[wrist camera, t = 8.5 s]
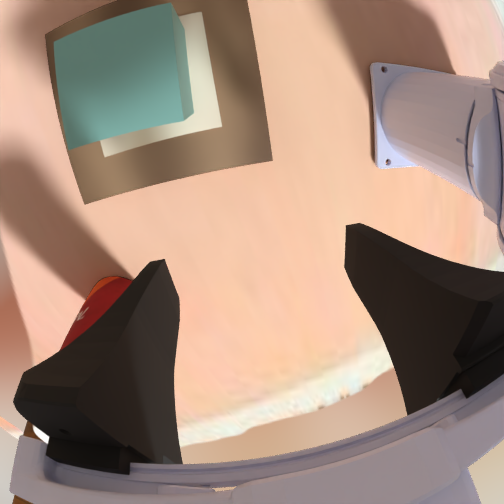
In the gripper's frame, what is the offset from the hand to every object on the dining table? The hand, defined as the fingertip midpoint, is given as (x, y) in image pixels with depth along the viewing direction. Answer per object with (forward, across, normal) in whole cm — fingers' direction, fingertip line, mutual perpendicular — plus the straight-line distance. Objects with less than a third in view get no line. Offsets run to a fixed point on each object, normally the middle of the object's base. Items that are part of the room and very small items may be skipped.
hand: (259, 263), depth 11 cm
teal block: (+7, +4, -8) cm, 11 cm away
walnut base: (+10, +4, -8) cm, 13 cm away
